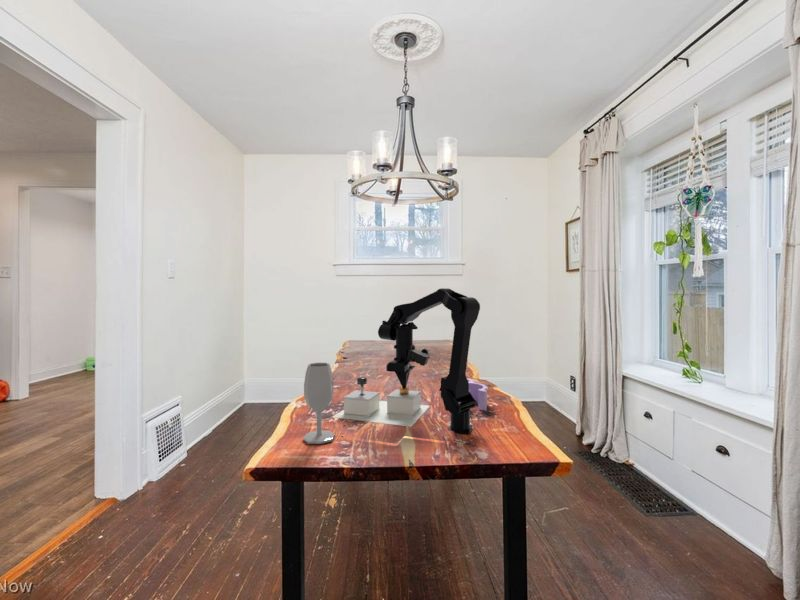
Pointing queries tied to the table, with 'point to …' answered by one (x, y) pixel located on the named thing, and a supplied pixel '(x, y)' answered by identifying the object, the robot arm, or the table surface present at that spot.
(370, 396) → the white square block
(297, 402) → the table surface
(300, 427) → the table surface
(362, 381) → the plunger
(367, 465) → the table surface
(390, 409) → the white square box
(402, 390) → the plunger
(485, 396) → the clip
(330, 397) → the wineglass
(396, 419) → the board
